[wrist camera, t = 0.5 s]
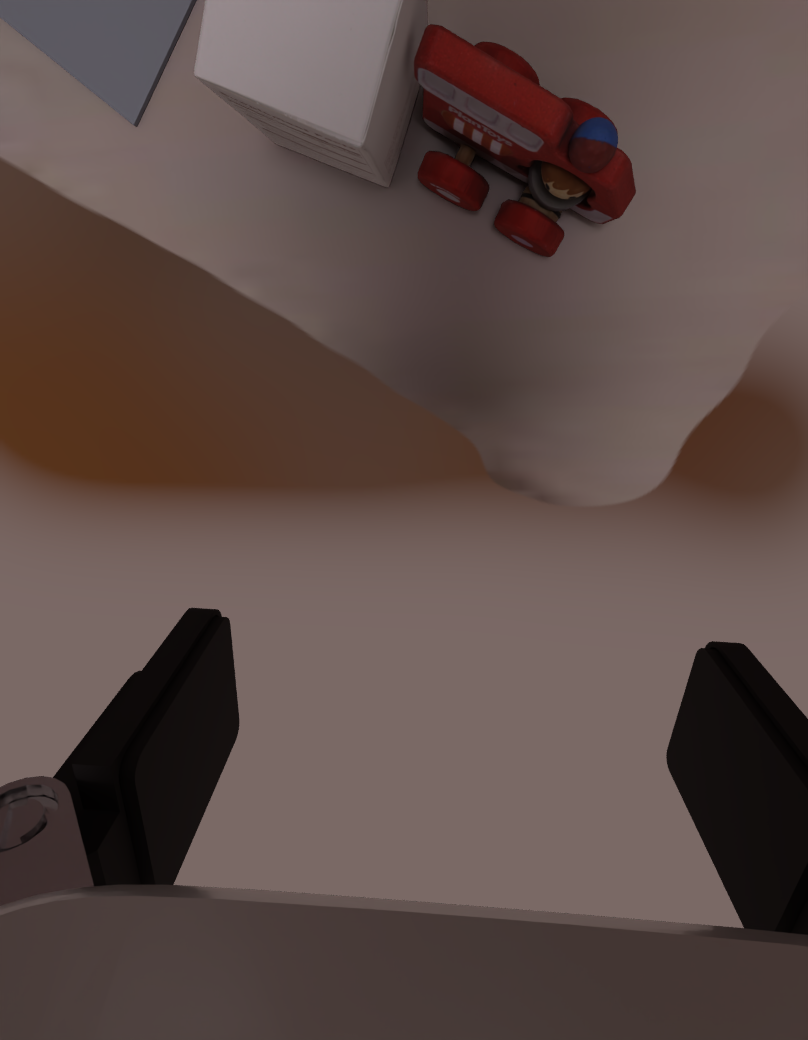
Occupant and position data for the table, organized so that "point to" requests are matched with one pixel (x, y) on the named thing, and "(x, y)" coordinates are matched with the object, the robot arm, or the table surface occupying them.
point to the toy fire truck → (517, 140)
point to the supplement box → (318, 74)
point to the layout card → (105, 42)
